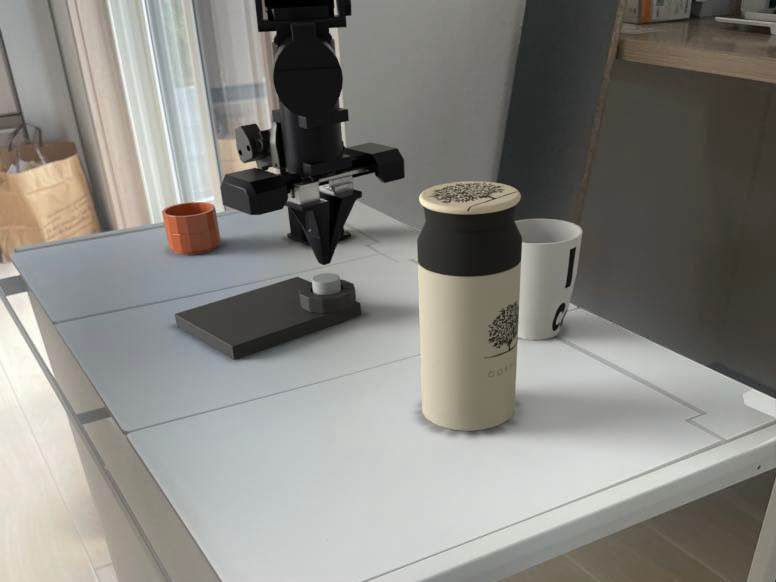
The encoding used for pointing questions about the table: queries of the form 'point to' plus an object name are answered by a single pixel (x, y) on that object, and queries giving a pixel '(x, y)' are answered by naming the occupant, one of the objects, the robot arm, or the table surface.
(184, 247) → the bowl
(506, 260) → the travel mug
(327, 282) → the button
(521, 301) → the cup
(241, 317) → the scale
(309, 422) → the table surface
